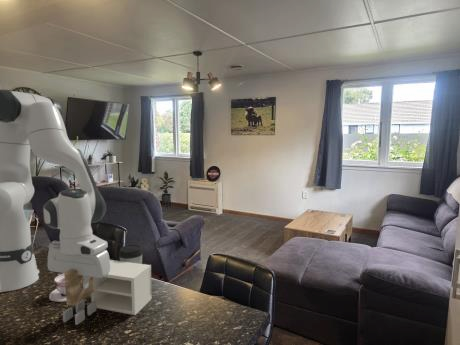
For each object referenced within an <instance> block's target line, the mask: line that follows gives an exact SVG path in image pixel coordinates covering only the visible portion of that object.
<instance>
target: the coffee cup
mask: <svg viewBox="0 0 460 345" xmlns="http://www.w3.org/2000/svg"><path fill="white" fill-rule="evenodd" d="M143 254H144V251H143V248H142V246H141V245H139V244H127V245H124V246H122V247H121V248H120V249H119V251H118V257H119V261H123V262H131V263H138V264H143Z"/></svg>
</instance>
